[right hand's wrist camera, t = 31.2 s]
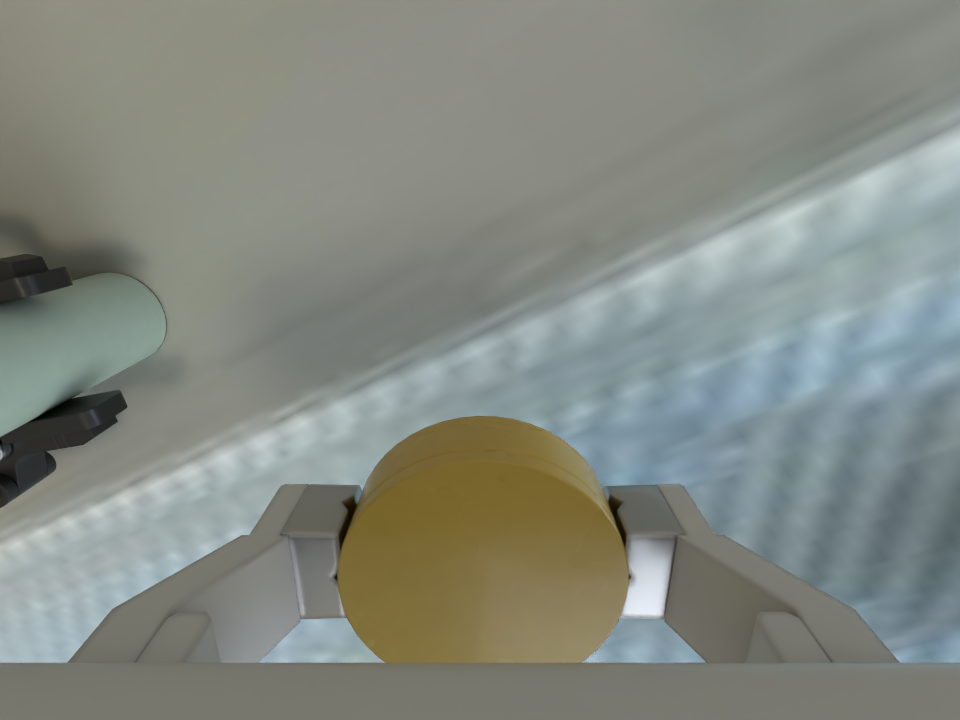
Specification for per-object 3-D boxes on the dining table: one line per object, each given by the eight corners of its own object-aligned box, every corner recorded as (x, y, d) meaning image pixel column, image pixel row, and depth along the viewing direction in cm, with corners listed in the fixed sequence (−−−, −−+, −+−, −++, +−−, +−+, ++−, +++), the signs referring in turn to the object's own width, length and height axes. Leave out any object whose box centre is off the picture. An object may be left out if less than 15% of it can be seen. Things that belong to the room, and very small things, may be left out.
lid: (657, 540, 10) (686, 603, 9) (468, 658, 11) (466, 732, 10) (501, 362, 9) (505, 399, 8) (305, 513, 10) (275, 572, 9)
